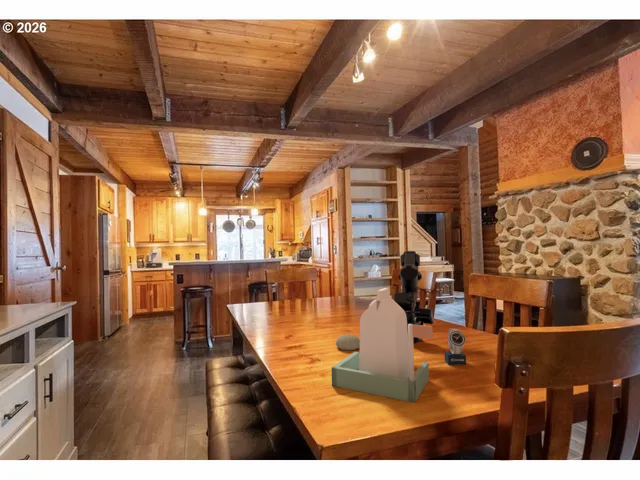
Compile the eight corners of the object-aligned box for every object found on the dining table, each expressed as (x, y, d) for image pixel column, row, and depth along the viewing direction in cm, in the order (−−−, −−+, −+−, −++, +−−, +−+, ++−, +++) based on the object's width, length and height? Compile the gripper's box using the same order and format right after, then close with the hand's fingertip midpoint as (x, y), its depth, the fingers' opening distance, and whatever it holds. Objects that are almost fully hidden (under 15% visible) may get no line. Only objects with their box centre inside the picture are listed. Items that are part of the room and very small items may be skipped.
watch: (450, 367, 109) (449, 332, 109) (443, 358, 117) (442, 326, 117) (468, 367, 108) (467, 332, 108) (460, 358, 116) (459, 326, 116)
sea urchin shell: (362, 346, 126) (346, 330, 127) (347, 361, 127) (331, 345, 128) (363, 340, 135) (349, 325, 136) (350, 353, 136) (335, 339, 137)
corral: (355, 367, 110) (353, 307, 111) (445, 382, 97) (443, 314, 97) (331, 385, 96) (330, 317, 97) (433, 406, 83) (431, 327, 83)
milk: (398, 389, 93) (395, 293, 93) (358, 381, 99) (356, 290, 99) (410, 374, 103) (408, 287, 103) (374, 368, 109) (372, 286, 109)
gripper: (377, 282, 123) (366, 319, 114) (431, 284, 114) (424, 324, 105) (385, 300, 130) (375, 337, 121) (436, 304, 121) (430, 344, 111)
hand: (399, 335), depth 114 cm, fingers closed
